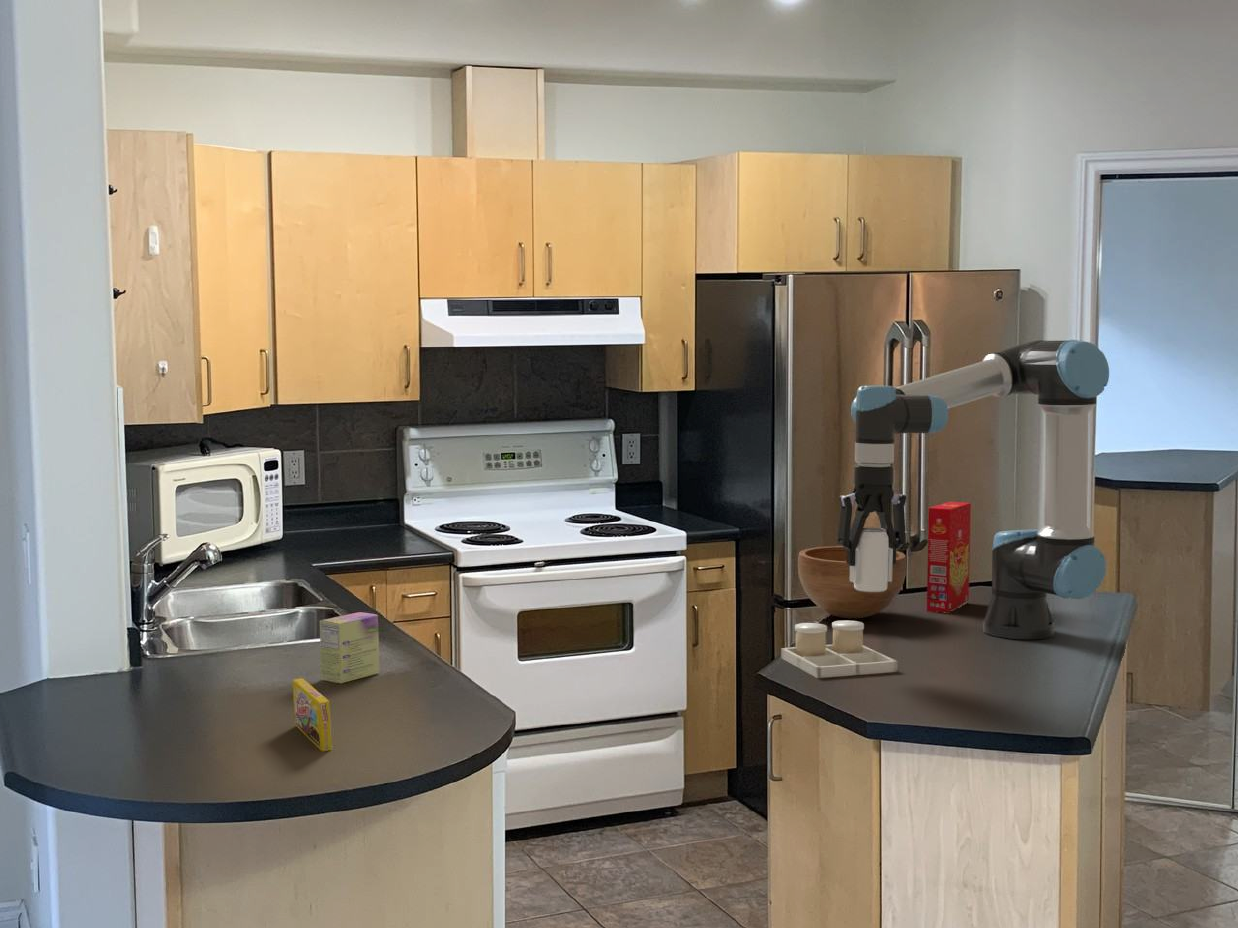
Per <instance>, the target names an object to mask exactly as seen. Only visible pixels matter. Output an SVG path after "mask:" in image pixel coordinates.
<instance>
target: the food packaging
mask: <svg viewBox="0 0 1238 928" xmlns="http://www.w3.org/2000/svg"><path fill="white" fill-rule="evenodd" d="M971 505H972V504H971V502H961V501H960V502H958V501H948V502H944V503H941V504H938V505H933V506H930V507H928V520H927V521H928V527H927V528H928V529H927V531H928V532H927V533H928V535H927V537H928V538H927V573H926V574H927V579H926V580H927V583H926V586H927V587H926V612H928V611H938V612H946V613H948V612H950V611H951V610H953V609H955V608H957V607H958V606H960V605H961V604H963V603H964V602H966V601H968V600H969V599H970V598H969V595H970V593H969V592H970V589H969V588H970V560H971V559H970V557H971V556H970V555H971V511H972V510H971V509H972V507H971ZM946 613H945V614H946ZM950 613H951V612H950ZM948 614H949V613H948Z"/></svg>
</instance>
